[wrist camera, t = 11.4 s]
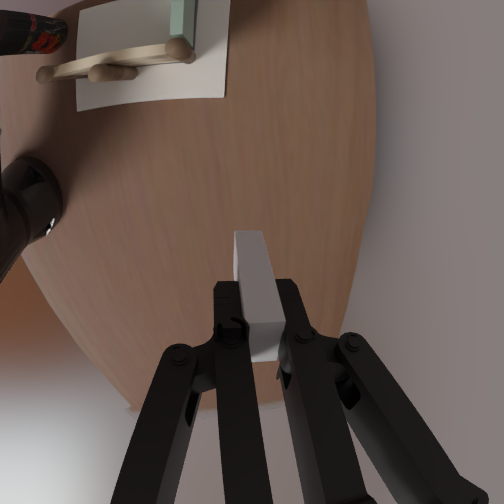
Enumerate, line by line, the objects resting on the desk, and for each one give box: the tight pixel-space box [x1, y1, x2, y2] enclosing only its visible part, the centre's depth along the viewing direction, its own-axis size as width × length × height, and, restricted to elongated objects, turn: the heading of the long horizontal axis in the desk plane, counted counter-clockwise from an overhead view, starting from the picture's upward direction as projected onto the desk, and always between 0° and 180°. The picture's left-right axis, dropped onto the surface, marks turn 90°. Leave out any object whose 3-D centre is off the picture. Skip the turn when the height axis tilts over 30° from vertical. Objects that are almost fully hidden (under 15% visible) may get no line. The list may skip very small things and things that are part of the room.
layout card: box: [76, 0, 231, 112], centre depth 27 cm, size 22×17×1 cm
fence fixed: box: [36, 38, 196, 83], centre depth 24 cm, size 17×4×12 cm, turn 86°
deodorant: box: [0, 10, 68, 56], centre depth 16 cm, size 6×6×15 cm
